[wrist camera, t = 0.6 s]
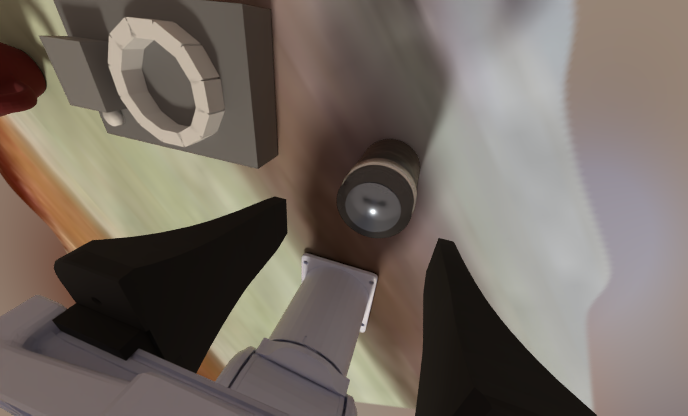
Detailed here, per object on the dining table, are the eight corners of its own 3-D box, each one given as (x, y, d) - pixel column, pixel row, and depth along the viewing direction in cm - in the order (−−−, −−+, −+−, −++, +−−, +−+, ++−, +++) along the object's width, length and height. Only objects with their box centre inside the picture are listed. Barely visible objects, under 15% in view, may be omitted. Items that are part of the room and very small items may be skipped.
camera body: (277, 155, 23) (241, 179, 18) (139, 124, 26) (82, 139, 22) (270, 9, 17) (217, -2, 13) (95, -8, 20) (8, -20, 16)
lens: (413, 200, 21) (403, 249, 16) (357, 187, 22) (331, 230, 17) (428, 144, 18) (423, 181, 13) (364, 132, 19) (337, 163, 14)
